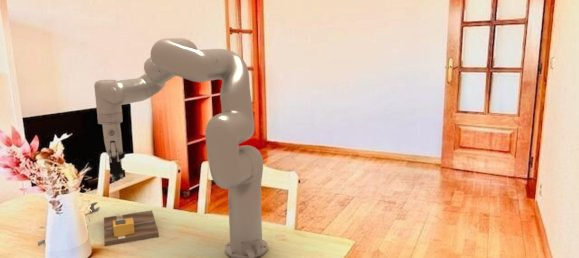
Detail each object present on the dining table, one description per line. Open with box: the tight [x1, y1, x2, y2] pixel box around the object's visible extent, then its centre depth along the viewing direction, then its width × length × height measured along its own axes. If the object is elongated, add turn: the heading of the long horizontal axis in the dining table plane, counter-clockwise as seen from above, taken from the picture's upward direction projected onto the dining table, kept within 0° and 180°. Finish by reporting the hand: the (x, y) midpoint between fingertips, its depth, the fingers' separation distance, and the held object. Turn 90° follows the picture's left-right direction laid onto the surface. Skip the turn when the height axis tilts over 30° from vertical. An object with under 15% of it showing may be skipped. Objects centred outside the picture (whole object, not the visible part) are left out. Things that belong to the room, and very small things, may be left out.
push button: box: [107, 149, 126, 182], centre depth 145 cm, size 7×5×10 cm
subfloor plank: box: [103, 209, 160, 247], centre depth 145 cm, size 20×16×2 cm
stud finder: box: [113, 218, 135, 237], centre depth 138 cm, size 5×6×4 cm
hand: (115, 171), depth 146 cm, fingers closed on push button, 4 cm apart
